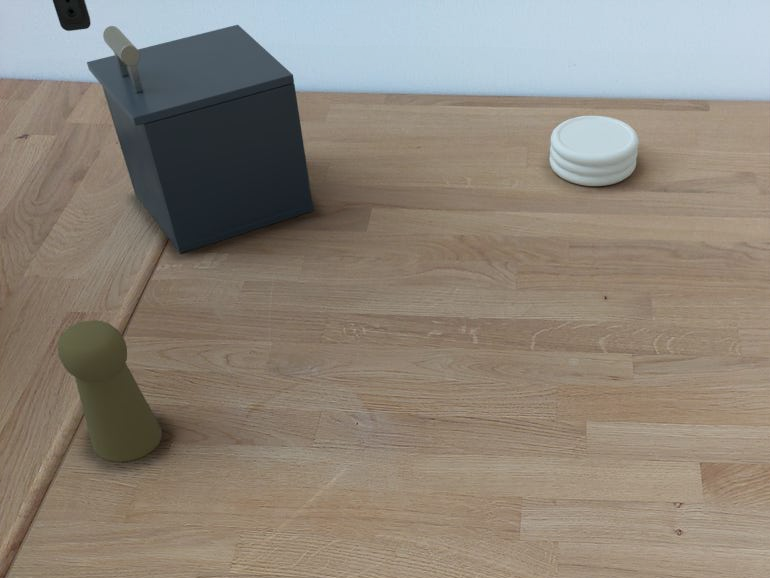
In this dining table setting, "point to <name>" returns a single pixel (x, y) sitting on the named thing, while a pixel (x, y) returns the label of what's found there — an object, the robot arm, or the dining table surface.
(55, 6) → the robot arm
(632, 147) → the coaster
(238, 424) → the dining table surface
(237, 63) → the lid
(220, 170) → the chest
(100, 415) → the olive green game pawn
